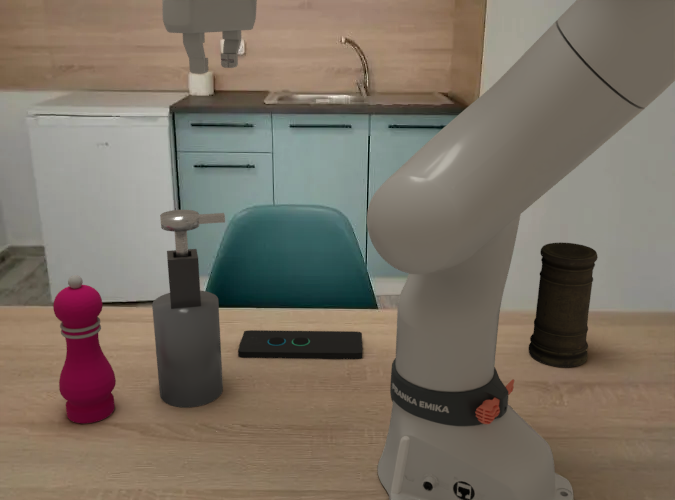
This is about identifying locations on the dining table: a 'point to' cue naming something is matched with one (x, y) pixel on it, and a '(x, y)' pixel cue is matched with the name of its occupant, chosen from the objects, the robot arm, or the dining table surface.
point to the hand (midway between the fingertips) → (215, 70)
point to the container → (563, 305)
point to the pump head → (186, 225)
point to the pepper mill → (83, 354)
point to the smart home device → (301, 344)
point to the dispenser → (187, 337)
